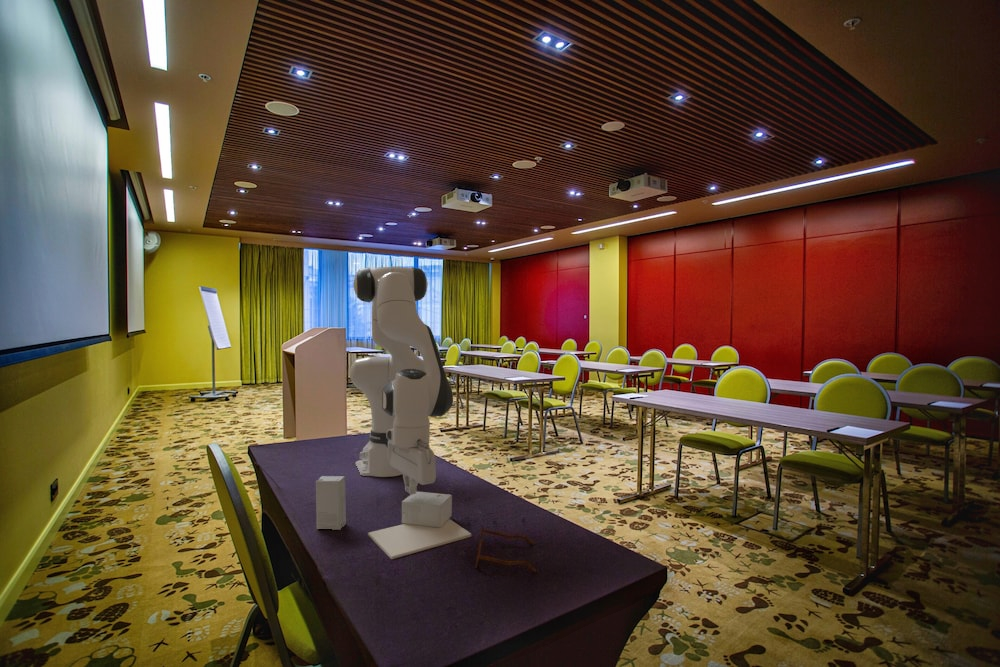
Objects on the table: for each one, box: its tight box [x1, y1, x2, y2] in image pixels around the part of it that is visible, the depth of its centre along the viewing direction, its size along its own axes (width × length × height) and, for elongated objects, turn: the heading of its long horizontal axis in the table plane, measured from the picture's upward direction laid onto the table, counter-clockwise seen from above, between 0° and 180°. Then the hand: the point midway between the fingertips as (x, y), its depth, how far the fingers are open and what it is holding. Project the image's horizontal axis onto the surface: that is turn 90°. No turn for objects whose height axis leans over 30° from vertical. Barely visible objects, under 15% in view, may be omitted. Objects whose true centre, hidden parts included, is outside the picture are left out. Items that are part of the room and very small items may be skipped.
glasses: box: [474, 525, 537, 572], centre depth 103 cm, size 13×13×5 cm
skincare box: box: [315, 475, 347, 531], centre depth 116 cm, size 6×4×12 cm
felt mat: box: [367, 518, 472, 560], centre depth 112 cm, size 14×20×1 cm
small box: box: [401, 490, 453, 528], centre depth 120 cm, size 8×6×10 cm
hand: (410, 492), depth 116 cm, fingers closed
